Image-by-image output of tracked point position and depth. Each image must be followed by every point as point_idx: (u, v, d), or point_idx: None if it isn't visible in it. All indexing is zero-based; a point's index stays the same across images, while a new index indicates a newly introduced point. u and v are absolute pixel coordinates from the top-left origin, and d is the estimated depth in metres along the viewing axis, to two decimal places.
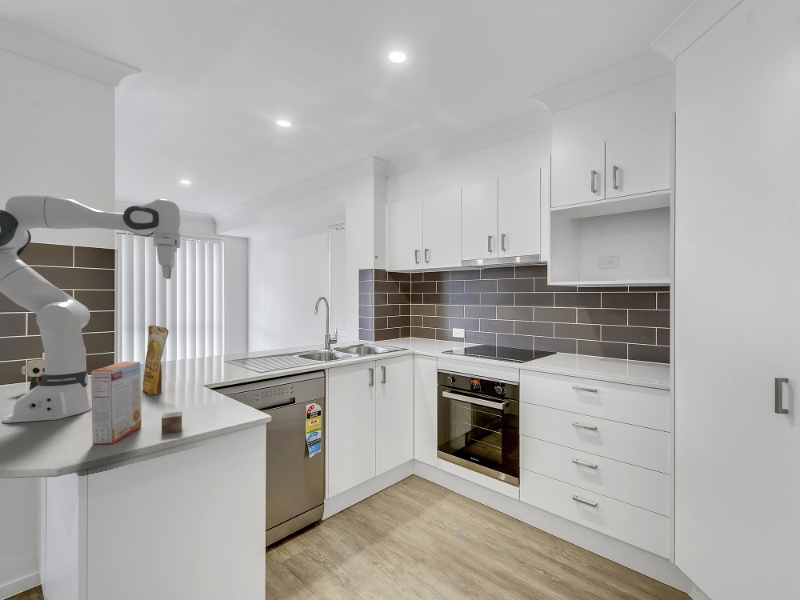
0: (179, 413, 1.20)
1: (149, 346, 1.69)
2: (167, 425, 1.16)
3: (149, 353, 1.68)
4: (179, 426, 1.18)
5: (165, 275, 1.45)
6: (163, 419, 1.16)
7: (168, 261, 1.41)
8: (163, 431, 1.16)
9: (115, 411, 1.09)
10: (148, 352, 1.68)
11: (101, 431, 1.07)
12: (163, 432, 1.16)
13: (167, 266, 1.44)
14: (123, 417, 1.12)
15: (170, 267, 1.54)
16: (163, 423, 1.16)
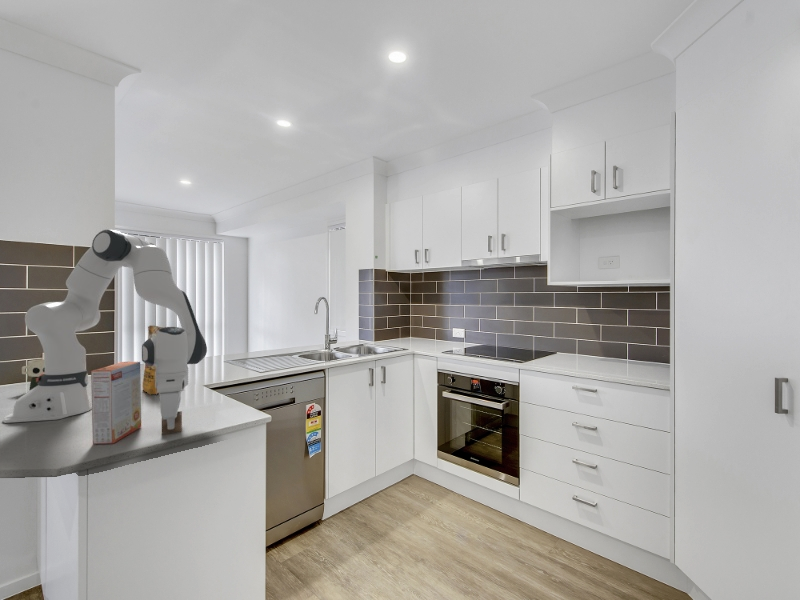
0: (179, 413, 1.20)
1: None
2: None
3: None
4: (179, 426, 1.18)
5: (170, 426, 1.15)
6: (163, 419, 1.16)
7: (174, 415, 1.10)
8: (163, 431, 1.16)
9: (115, 411, 1.09)
10: None
11: (101, 431, 1.07)
12: (163, 432, 1.16)
13: None
14: (123, 417, 1.12)
15: None
16: (163, 423, 1.16)
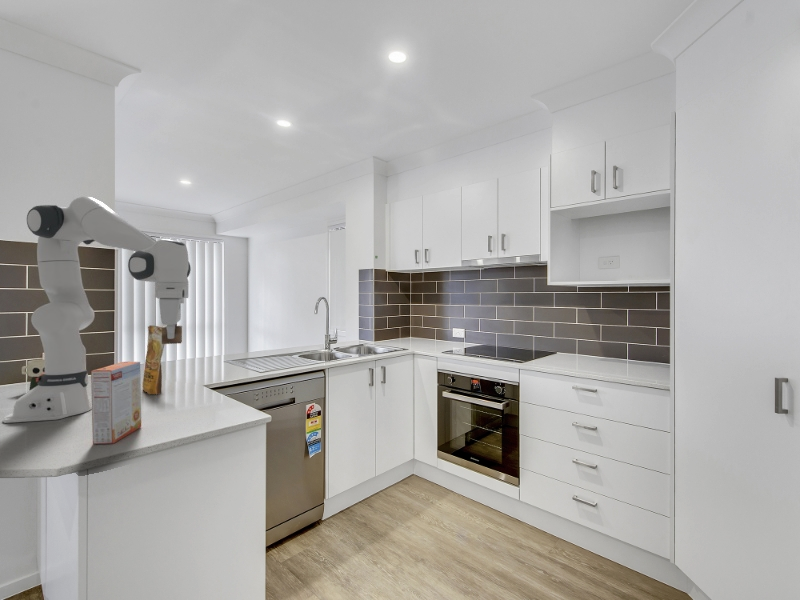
0: (179, 326, 1.20)
1: (149, 346, 1.69)
2: None
3: (148, 353, 1.68)
4: (179, 337, 1.17)
5: (170, 335, 1.15)
6: (163, 328, 1.15)
7: (174, 320, 1.10)
8: (163, 340, 1.15)
9: (115, 411, 1.09)
10: (148, 352, 1.68)
11: (101, 431, 1.07)
12: (163, 341, 1.15)
13: (173, 324, 1.14)
14: (123, 417, 1.12)
15: None
16: (163, 332, 1.15)
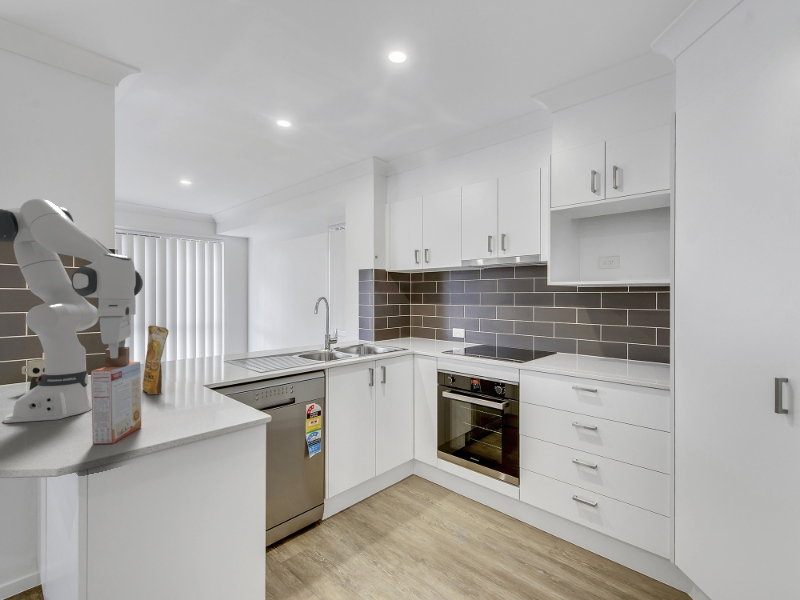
0: (126, 347, 1.16)
1: (149, 346, 1.69)
2: None
3: (149, 353, 1.68)
4: (124, 359, 1.13)
5: (113, 355, 1.10)
6: (107, 351, 1.11)
7: (115, 339, 1.06)
8: (107, 363, 1.11)
9: (115, 411, 1.09)
10: (148, 352, 1.68)
11: (101, 431, 1.07)
12: (107, 364, 1.11)
13: (116, 343, 1.09)
14: (123, 417, 1.12)
15: (123, 338, 1.18)
16: (107, 355, 1.11)
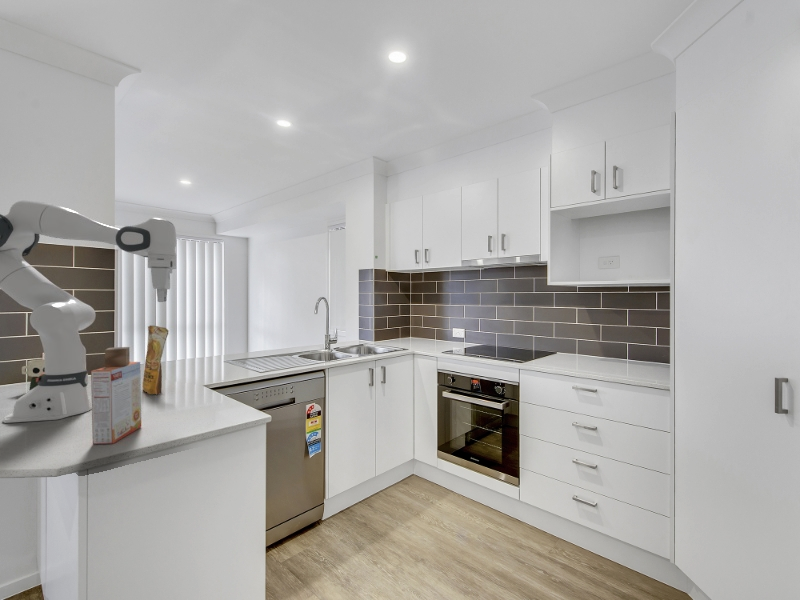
0: (126, 347, 1.16)
1: (149, 346, 1.69)
2: (110, 357, 1.11)
3: (149, 353, 1.68)
4: (124, 359, 1.13)
5: (160, 299, 1.35)
6: (107, 351, 1.11)
7: (163, 285, 1.32)
8: (107, 363, 1.11)
9: (115, 411, 1.09)
10: (148, 352, 1.68)
11: (101, 431, 1.07)
12: (107, 364, 1.11)
13: (162, 290, 1.35)
14: (123, 417, 1.12)
15: (165, 289, 1.45)
16: (107, 355, 1.11)
